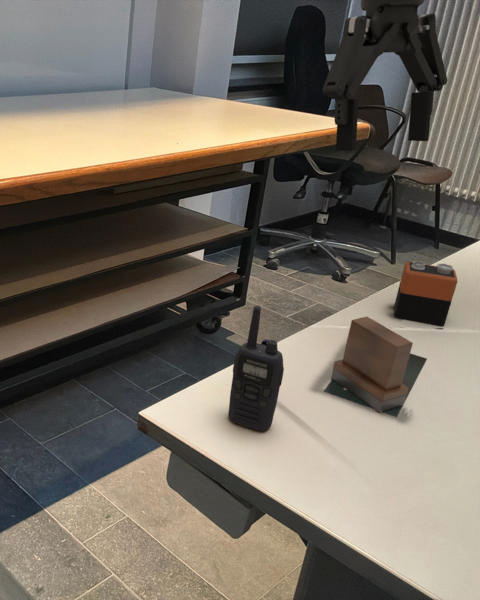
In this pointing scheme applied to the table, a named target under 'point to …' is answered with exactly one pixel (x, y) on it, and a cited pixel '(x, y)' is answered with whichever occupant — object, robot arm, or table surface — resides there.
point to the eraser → (374, 364)
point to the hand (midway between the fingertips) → (382, 145)
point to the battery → (425, 293)
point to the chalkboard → (409, 379)
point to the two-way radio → (255, 380)
